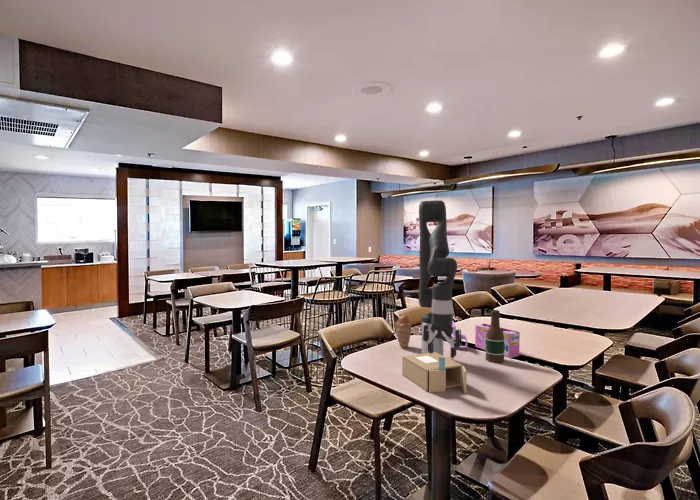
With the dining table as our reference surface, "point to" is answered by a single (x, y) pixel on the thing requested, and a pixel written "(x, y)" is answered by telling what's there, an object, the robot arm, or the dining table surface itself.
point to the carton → (422, 363)
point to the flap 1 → (438, 378)
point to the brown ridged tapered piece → (403, 330)
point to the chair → (461, 336)
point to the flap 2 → (464, 379)
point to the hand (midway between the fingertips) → (441, 355)
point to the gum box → (509, 340)
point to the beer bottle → (495, 340)
